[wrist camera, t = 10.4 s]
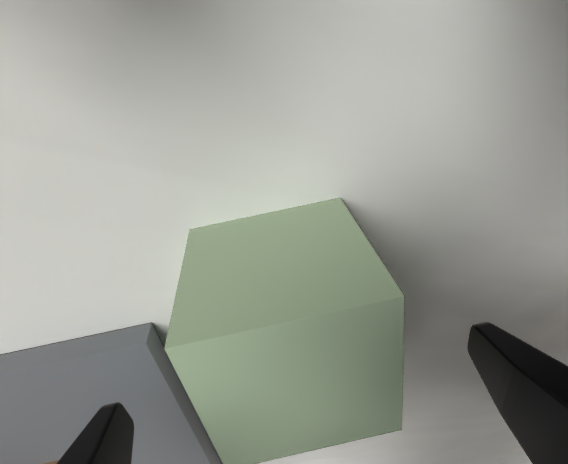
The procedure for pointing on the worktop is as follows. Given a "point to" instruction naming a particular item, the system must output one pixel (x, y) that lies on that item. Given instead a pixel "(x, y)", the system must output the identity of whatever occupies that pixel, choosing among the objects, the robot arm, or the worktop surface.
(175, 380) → the baseplate
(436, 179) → the worktop surface
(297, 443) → the sage brick
